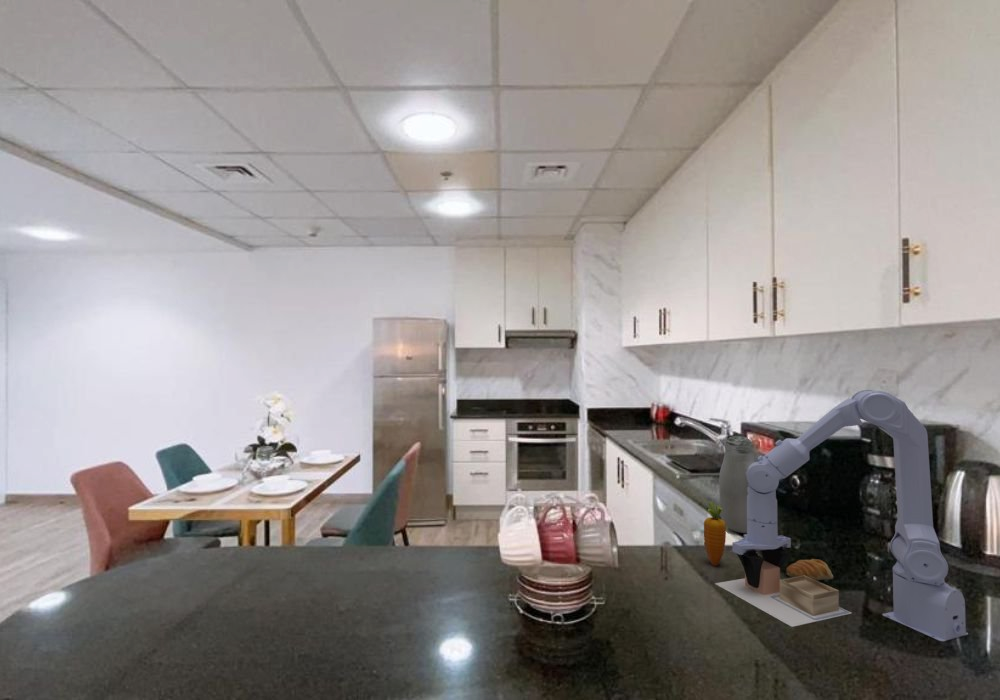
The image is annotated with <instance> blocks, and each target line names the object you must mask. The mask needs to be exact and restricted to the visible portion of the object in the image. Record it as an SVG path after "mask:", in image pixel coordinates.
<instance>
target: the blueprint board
mask: <svg viewBox="0 0 1000 700" xmlns="http://www.w3.org/2000/svg"><path fill="white" fill-rule="evenodd" d="M780 580H781V578H780ZM714 584H715V585H716V586H718V587H720V588H721V589H723V590H725V591H727V592H729V593H731V594H733V595H734V596H736V597H738V598H739V599H742V600H743V601H744V602H747V603H748V604H750V605H752V606H754V607H755V608H757V609H759V610H761V611H763V612H764V613H767V614H768V615H770V616H771V617H773V618H775V619H777V620H779V621H781V622H782V623H784V624H786V625H788V626H790V627H791V628H793V627H797V626H798V627H799V626H802V625H807V624H812V623H815V622H816V623H817V622H820V621H824V620H828V619H834V618H837V617H842V616H846V615H850V614H852V612H851V611H850V610H849V611H848V610H846V609H844V608H843V607H840V606H839V610H838V611H834V612H829V613H825V614H820V615H816V616H812V615H810V614H808V613H806V612H804V611H802V610H800V609H799V608H797V607H795V606H793V605H791V604H789V603H787V602H785V601H783V600H781V599H780V592H778V593H772V594H767V595H762V594H761V593H759V592H757V591H755V590H753V589H751V588H749V587H747V586H745V577H744V578H740V579H739V578H738V579H733V580H727V581H721V582H715V583H714Z"/></svg>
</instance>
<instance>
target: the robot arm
mask: <svg viewBox="0 0 1000 700" xmlns="http://www.w3.org/2000/svg"><path fill="white" fill-rule="evenodd" d="M862 420H863V421H865V422H867V423H871V424H873V425H874V426H877V427H878V429H880V430H882V431H883V432H884V433H886V434H887V435H888V436H890V437H891V438H892V441H893V457H894V458H893V459H894V475H895V493H896V494H895V496H896V509H897V521H896V523H895V525H894V531H895V533H894V536H893V537H892V539H891V540H890V543H889V549H890V552H891V554H892V555H893V557H894V558H895V559H896V560H897V561H896V563H895V564H894V565H893V566H892V596H893V597H892V598H893V599H892V603H893V606H892V607H893V611H890V612H886V613H885V612H884V613H882V614H881V615H882V616H883V617H885V618H888V619H890V620H892V621H894V622H897V623H899V624H902V625H904V626H906V627H907V628H908V627H909V628H910V629H913V630H915V631H917V632H918V633H922V634H924V635H926V636H928V637H931V638H933V639H935V640H937V641H940V642H946V641H947V642H948V641H949V640H954V639H956V638H959V637H963V636H967V635H969V633H968V632H967V628H966V622H967V621H966V600H965V597H964V595H963V593H962V591H960V590H958V589H957V588H954V587H952V586H950V585H949V584H948V583H946V582H945V578H946V577H947V575H948V572H949V565H948V562H947V560H946V558H945V557H944V555H943V554H942V552H941V545H940V544H941V543H940V541H939V538H938V536H937V533H936V531H935V528H934V521H933V520H934V519H933V501H932V500H933V499H932V486H931V484H932V483H931V471H930V453H929V439H928V438H929V437H928V431H927V429H926V427H925V426H924V425H923V424H922V423H921V422H920V420H919V419H918V418H917V417H916V416H915V415H914V413H913V412H912V411H911V410H910V409H909V407H908V405H907V404H906V402H905V401H903V400H901V399H900V398H898V397H896V396H895V395H893V394H890V393H889V392H886V391H882V390H873V389H864V390H860V391H857V392H856V393H854V394H853V395H852V396H851V398H846V399H845V400H843V401H841V402H840V403H839V404H837V405H835V406H834V407H833V408H832V409H831V410H829V411H827V412H826V414H824V415H823V416H822V417H821V418H820V419H818V420H817V421H816V422H815V423H814V424H813V425H811V426H810V427H809V428H808V429H806V430H805V431H804V432H803V433H802V434H801V435H800V436H798V437H797V438H790V437H789V438H785V439H784V440H781V439H778V440H777V441H776V442H774V444H775V447H773V448H772V449H770V451H768V452H767V453H765V455H759V456H758V457H757V460H758V461H755V462H754V463H752V464H751V465H750V466H749V467H748V469H747V472H746V476H747V481H748V483H749V484H748V488H747V492H748V495H747V533H743V538H741V539H739V540H737V541H733V542H732V543H731V544H732V552H733V553H735V554H736V555H737V557H738V558H739V560H740V562H741V565H742V567H743V569H744V570H743V571H744V575H745V574H746V578H747V582H748V584H749V585H751V586H752V587H754V588H758V587H759V582H760V571H761V567H762V564H763V561H766V562H768V563H770V564H773V565H775V566H777V567H779V568H780V572H781V571H782V568H783V566H784V564H785V562H786V561H787V559H788V558H789V557H790V555H789V551H787V550H785V549H783V548H787V549H789V548H792V542H791V541H792V538H790V537H788V536H784V535H779V532H778V499H777V492H776V491H777V489H778V487H779V484H780V480H783V479H786V478H787V477H788V476H790V475H792V473H794V472H795V471H797V470H798V469H799V468H801V467H802V466H803V465H804V464H807V462H808V461H810V452H811V451H812V450H814V448H816V447H817V446H819V445H820V444H821V443H823V442H825V441H826V440H827V439H829V438H830V437H832V436H833V435H834V434H836V433H838V432H839V431H840V430H841V429H843V428H847V427H853V426H861V425H862V426H863V425H864V423H863V421H862ZM759 551H760V553H761V555H758V552H759Z"/></svg>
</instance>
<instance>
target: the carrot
mask: <svg viewBox="0 0 1000 700" xmlns="http://www.w3.org/2000/svg"><path fill="white" fill-rule="evenodd" d="M708 505H709V506H710V508H708V509H707V512H708V513H709V515H710V516H709V517H707V518H706V519H704V522H703V533H704V534H703V537H704V538H703V539H704V545H705V551H706V555H707V556H708V559H709V561H710V563H711V565H713V566H714V567H715V566H717V567H718V566H719V564H720V562H721V560H722V557H723V555H724V551H725V546H726V538H727V537H726V534H727V527H726V523H725V522H724V521H723V520H722V519H721V518H720V516H721V515H720V513H721V511H722V508H720V505H716V506H714V504H713V502H712V501H709V502H708ZM715 507H716V508H715Z"/></svg>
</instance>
